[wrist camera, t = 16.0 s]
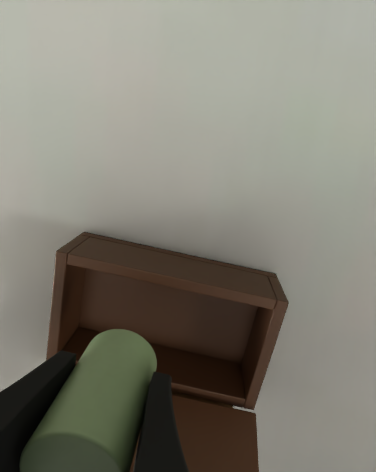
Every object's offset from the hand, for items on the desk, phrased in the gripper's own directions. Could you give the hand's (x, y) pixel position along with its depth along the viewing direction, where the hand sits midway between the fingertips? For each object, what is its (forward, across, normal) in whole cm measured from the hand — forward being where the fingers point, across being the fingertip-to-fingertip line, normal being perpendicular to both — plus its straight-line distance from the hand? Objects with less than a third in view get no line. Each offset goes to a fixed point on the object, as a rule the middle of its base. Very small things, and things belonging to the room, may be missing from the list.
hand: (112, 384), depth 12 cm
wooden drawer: (+8, -1, +1) cm, 8 cm away
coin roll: (+1, 0, 0) cm, 1 cm away
